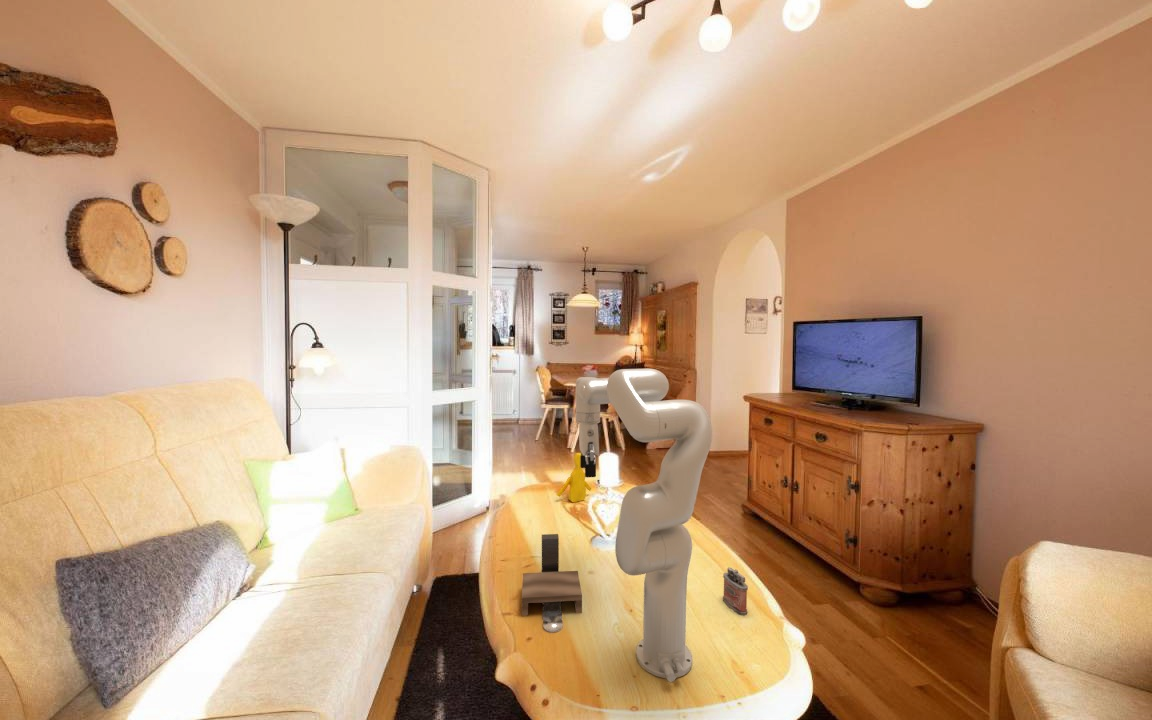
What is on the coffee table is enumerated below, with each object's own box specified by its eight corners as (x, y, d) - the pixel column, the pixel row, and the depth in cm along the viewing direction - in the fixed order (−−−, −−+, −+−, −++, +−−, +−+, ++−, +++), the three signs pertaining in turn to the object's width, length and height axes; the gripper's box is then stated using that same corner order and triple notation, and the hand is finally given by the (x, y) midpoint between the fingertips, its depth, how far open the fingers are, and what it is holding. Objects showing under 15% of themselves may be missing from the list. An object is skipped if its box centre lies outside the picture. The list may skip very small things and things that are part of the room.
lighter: (719, 599, 122) (720, 565, 122) (729, 597, 123) (730, 562, 123) (740, 616, 115) (740, 580, 114) (750, 614, 116) (751, 577, 115)
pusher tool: (561, 619, 114) (562, 566, 113) (542, 620, 113) (542, 567, 112) (558, 578, 133) (558, 533, 132) (541, 579, 132) (541, 534, 131)
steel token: (563, 632, 109) (563, 627, 109) (544, 634, 108) (543, 629, 108) (561, 619, 114) (561, 615, 114) (542, 621, 113) (542, 617, 113)
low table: (581, 612, 116) (582, 594, 116) (521, 616, 115) (521, 597, 114) (577, 587, 128) (577, 570, 128) (522, 589, 127) (522, 573, 126)
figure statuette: (588, 494, 204) (589, 448, 203) (597, 499, 197) (597, 451, 196) (554, 500, 196) (554, 452, 194) (562, 506, 189) (562, 456, 187)
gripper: (605, 422, 126) (605, 480, 126) (595, 412, 143) (595, 463, 144) (579, 422, 125) (579, 481, 125) (572, 412, 142) (572, 464, 143)
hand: (587, 472), depth 135 cm, fingers open, 9 cm apart
